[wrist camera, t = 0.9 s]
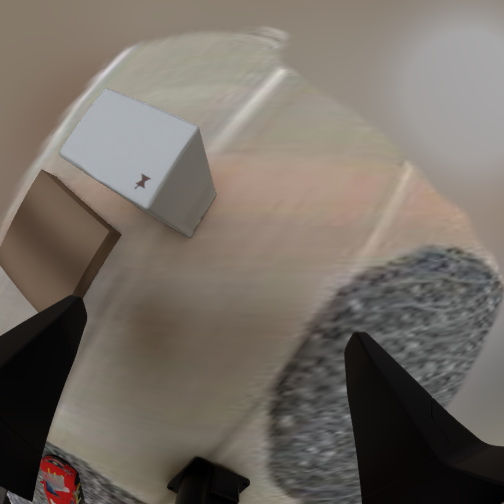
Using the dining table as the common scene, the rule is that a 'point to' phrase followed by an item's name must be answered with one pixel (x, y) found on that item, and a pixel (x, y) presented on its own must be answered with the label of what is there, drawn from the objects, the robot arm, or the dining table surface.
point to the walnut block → (54, 244)
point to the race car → (60, 482)
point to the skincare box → (144, 158)
